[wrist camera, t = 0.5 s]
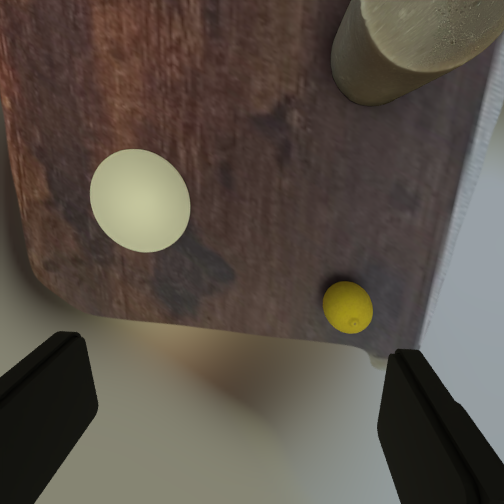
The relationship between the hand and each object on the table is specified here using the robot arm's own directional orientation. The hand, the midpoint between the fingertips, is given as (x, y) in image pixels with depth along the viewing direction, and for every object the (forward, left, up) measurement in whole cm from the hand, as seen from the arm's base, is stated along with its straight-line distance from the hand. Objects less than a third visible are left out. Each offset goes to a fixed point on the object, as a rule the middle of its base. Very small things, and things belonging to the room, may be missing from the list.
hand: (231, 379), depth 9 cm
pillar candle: (-16, +11, -30) cm, 36 cm away
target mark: (0, -16, -30) cm, 34 cm away
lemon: (+11, +10, -30) cm, 33 cm away
